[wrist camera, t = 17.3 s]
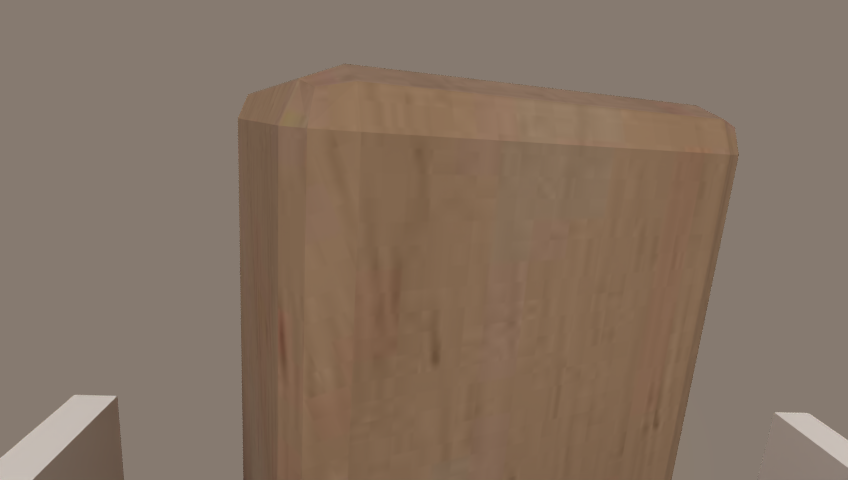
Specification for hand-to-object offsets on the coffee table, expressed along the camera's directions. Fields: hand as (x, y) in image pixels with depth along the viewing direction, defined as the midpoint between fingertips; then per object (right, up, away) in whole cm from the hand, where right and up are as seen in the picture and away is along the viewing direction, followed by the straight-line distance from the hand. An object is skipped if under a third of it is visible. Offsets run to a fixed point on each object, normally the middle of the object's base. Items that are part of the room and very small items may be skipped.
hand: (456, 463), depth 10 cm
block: (-1, -11, +7) cm, 14 cm away
